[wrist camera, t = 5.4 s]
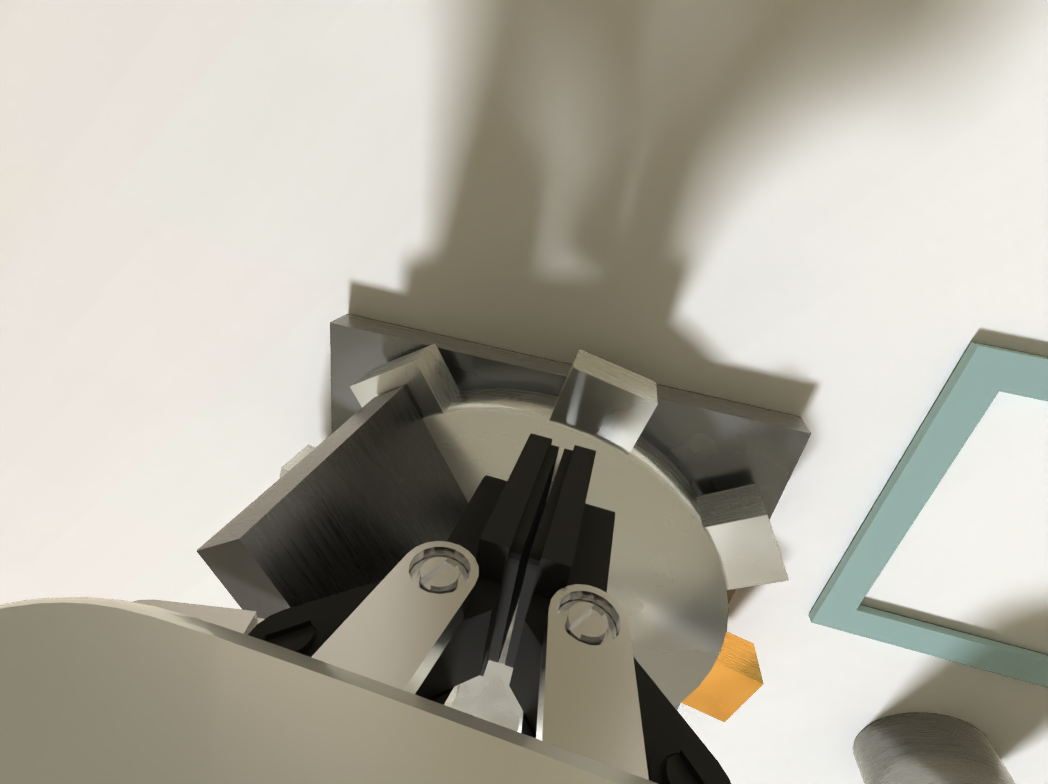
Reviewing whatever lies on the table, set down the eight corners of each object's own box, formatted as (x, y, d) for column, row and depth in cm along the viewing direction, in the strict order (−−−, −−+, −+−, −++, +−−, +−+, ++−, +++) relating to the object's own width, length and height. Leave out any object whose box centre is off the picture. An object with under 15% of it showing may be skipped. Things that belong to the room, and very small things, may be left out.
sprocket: (677, 245, 12) (732, 350, 5) (826, 701, 16) (959, 1075, 10) (219, 429, 17) (-54, 599, 10) (431, 731, 22) (338, 983, 15)
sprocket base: (799, 416, 14) (812, 435, 13) (663, 711, 20) (664, 739, 19) (347, 313, 16) (327, 323, 15) (348, 614, 22) (334, 635, 21)
